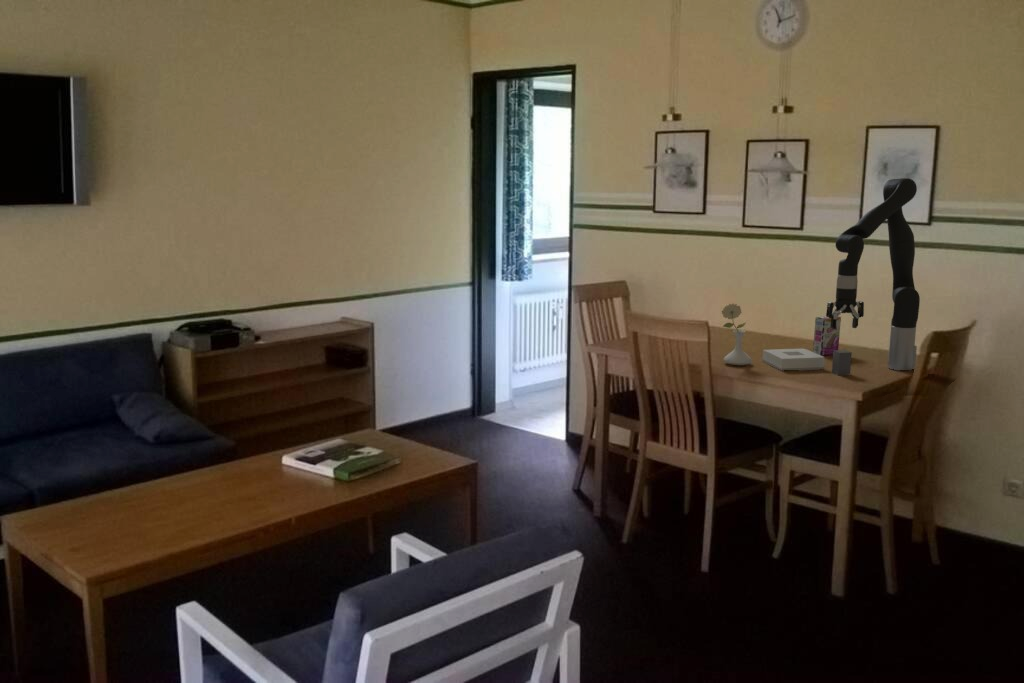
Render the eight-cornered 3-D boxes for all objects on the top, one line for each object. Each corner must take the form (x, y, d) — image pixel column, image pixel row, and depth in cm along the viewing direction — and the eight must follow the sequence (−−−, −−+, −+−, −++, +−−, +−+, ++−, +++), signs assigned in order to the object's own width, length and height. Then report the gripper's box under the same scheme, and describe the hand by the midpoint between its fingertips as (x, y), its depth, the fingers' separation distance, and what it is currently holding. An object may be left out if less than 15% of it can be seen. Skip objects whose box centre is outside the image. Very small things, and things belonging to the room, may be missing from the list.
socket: (803, 360, 391) (804, 348, 390) (824, 369, 373) (824, 357, 372) (762, 361, 388) (763, 349, 387) (781, 371, 371) (782, 358, 370)
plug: (843, 372, 369) (845, 349, 367) (850, 375, 364) (851, 352, 362) (831, 372, 368) (833, 350, 366) (838, 375, 363) (839, 352, 362)
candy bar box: (821, 356, 398) (824, 318, 395) (812, 354, 402) (814, 317, 399) (839, 353, 404) (841, 316, 401) (829, 351, 408) (832, 314, 405)
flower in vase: (753, 362, 386) (756, 302, 382) (750, 368, 376) (753, 306, 371) (721, 360, 391) (723, 301, 386) (717, 365, 380) (720, 304, 375)
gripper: (859, 285, 364) (856, 326, 367) (824, 285, 362) (822, 327, 365) (869, 287, 357) (866, 329, 360) (834, 288, 355) (831, 330, 358)
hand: (844, 328), depth 363 cm, fingers open, 8 cm apart
